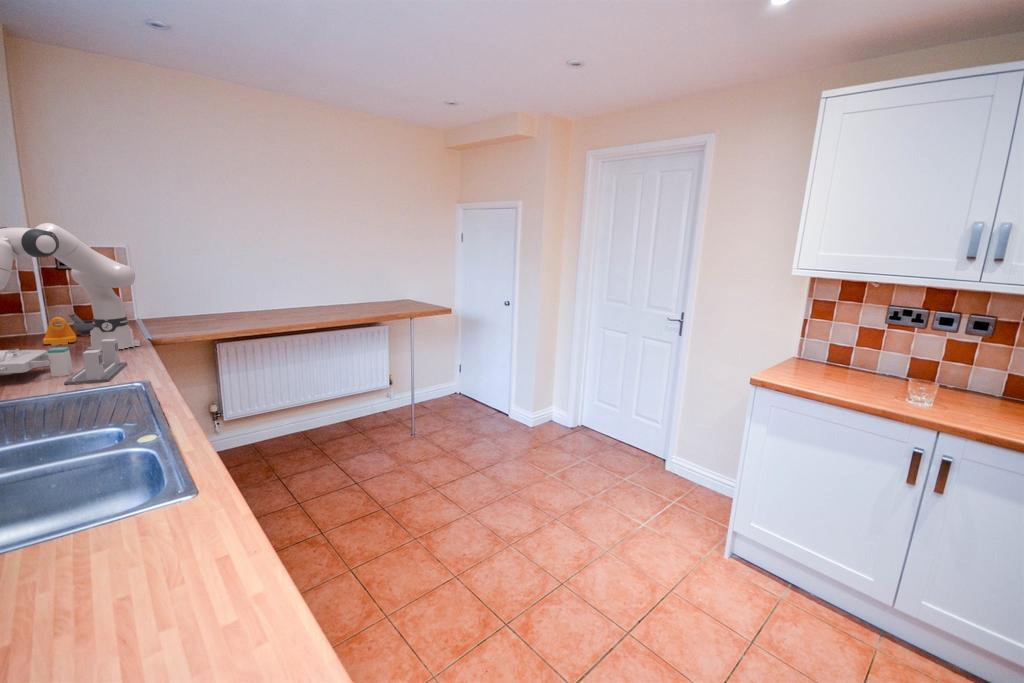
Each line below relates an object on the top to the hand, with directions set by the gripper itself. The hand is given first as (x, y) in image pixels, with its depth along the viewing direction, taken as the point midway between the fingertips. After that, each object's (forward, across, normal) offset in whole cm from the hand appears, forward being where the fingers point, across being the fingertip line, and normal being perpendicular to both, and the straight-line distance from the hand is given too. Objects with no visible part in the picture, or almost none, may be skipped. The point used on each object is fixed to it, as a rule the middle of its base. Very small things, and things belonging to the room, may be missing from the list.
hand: (54, 359), depth 171 cm
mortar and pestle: (-13, +79, +6) cm, 80 cm away
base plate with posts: (+12, -3, +6) cm, 14 cm away
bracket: (-18, +62, +6) cm, 65 cm away
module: (+2, 0, +6) cm, 6 cm away
